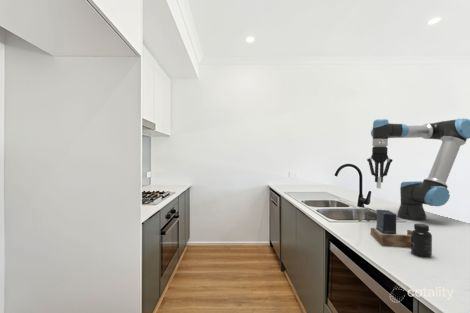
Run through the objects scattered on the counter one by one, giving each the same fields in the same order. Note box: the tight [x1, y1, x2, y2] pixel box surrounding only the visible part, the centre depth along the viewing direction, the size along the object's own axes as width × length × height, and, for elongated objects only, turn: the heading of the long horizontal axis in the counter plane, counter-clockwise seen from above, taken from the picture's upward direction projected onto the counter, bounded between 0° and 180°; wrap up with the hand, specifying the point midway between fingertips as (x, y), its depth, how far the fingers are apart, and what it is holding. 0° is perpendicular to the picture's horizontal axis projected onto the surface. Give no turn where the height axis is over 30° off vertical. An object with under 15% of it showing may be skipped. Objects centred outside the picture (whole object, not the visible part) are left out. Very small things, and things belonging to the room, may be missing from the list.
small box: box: [375, 209, 397, 234], centre depth 134 cm, size 11×6×10 cm, turn 168°
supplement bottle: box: [410, 223, 433, 259], centre depth 103 cm, size 7×7×12 cm
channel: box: [370, 227, 413, 249], centre depth 119 cm, size 18×18×5 cm
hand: (378, 188), depth 145 cm, fingers closed
